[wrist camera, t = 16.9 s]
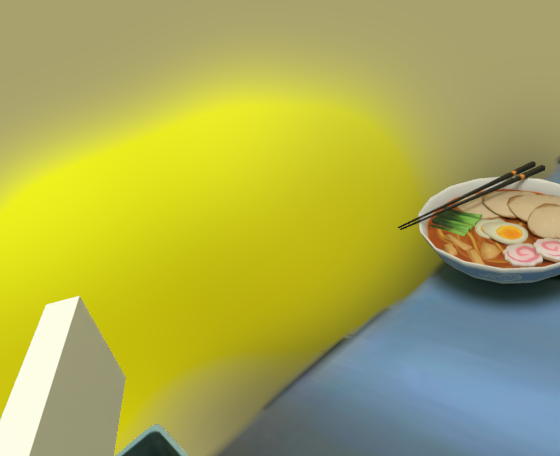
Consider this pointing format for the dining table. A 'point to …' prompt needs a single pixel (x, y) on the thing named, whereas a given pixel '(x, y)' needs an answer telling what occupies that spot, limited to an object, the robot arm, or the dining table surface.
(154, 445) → the flower pot
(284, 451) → the dining table surface
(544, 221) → the ramen bowl
